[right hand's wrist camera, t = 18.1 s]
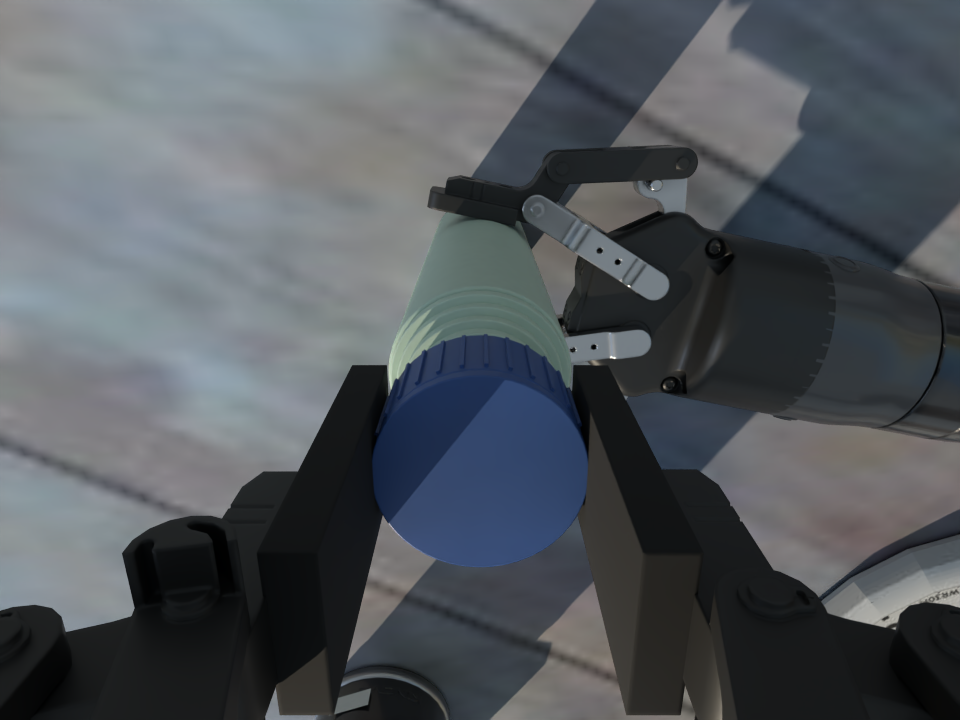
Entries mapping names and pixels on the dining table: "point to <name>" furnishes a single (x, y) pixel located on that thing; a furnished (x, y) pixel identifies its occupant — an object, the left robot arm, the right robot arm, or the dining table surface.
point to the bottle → (479, 294)
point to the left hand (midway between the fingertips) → (421, 259)
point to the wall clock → (900, 584)
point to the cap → (480, 453)
